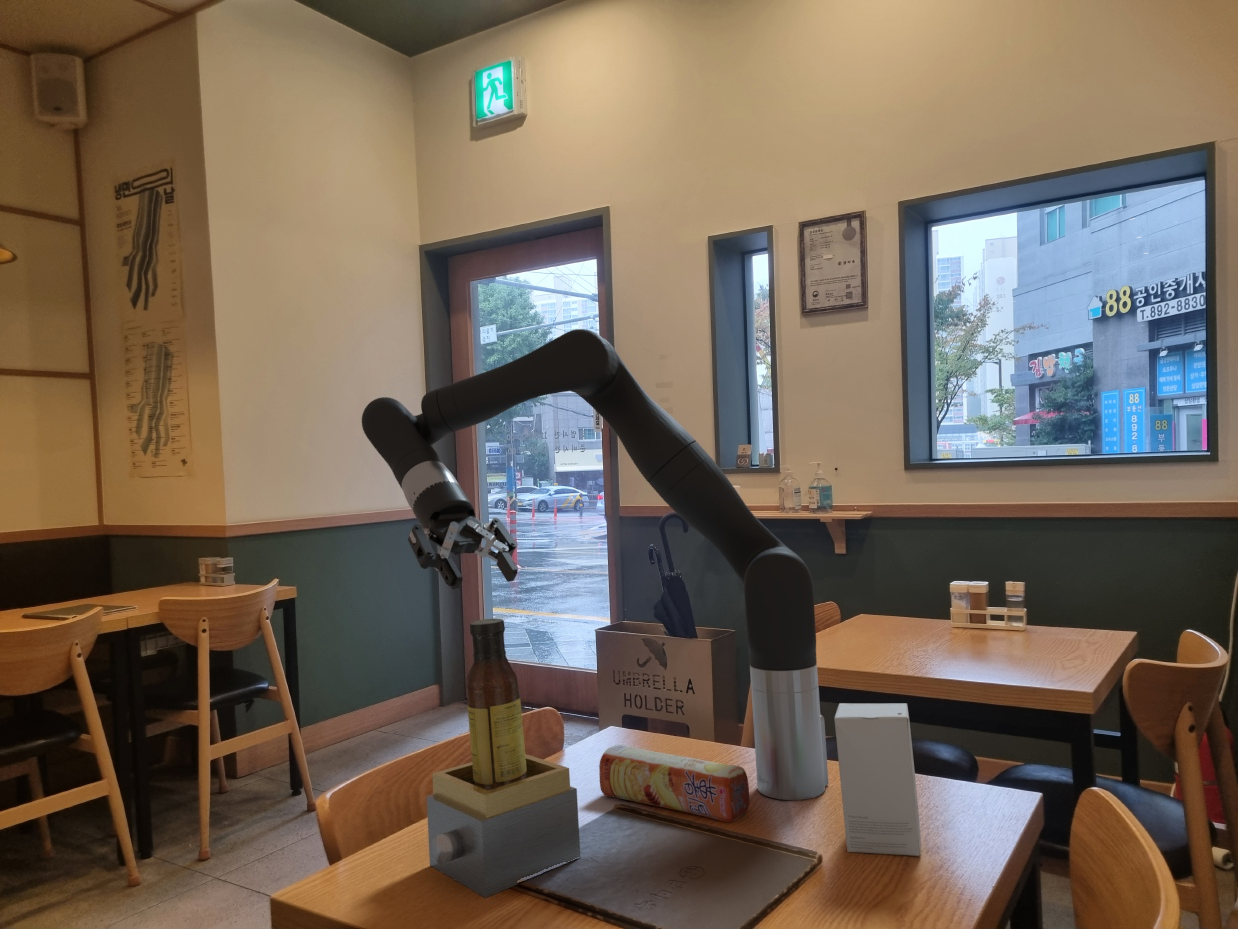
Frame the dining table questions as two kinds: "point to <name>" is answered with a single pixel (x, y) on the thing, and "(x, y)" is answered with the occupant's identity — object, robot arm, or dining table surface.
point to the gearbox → (502, 826)
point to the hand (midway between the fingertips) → (486, 581)
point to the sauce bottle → (494, 710)
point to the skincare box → (877, 779)
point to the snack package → (675, 782)
